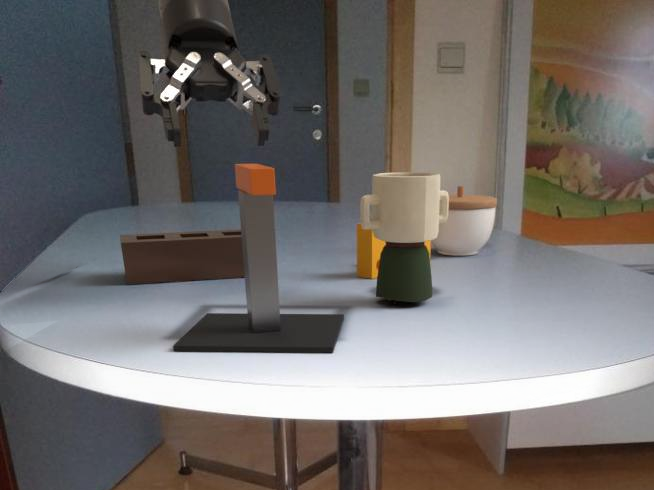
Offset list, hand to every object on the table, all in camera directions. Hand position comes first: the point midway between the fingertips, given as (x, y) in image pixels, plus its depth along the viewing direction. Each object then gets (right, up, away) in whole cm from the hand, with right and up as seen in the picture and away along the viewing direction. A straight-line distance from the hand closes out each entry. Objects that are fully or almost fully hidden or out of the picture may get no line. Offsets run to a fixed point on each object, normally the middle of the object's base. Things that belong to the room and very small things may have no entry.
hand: (220, 140), depth 73 cm
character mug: (+19, -15, +6) cm, 25 cm away
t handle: (+5, -21, -6) cm, 22 cm away
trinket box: (+29, 0, +36) cm, 46 cm away
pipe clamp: (+18, -7, +23) cm, 30 cm away
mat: (+5, -21, -6) cm, 22 cm away
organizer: (-7, -8, +21) cm, 23 cm away
